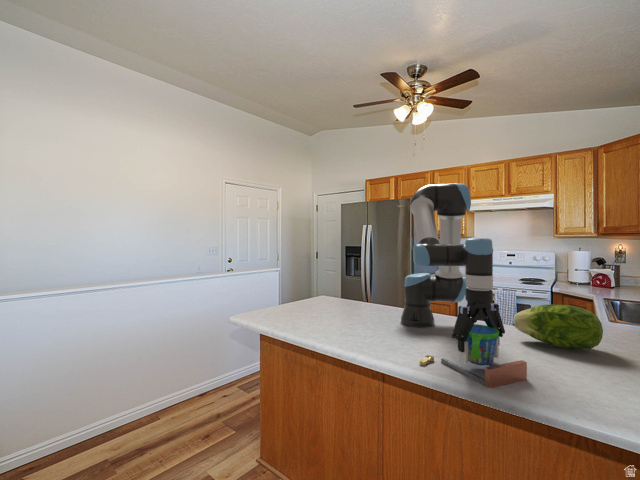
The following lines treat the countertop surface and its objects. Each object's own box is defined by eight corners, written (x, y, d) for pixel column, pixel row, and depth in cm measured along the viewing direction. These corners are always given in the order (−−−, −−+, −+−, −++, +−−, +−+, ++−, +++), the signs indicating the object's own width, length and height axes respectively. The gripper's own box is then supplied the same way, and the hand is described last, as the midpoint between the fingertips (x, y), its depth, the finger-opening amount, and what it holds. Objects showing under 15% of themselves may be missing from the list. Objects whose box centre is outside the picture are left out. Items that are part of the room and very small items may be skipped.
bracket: (474, 356, 107) (474, 341, 107) (526, 379, 89) (526, 362, 89) (441, 362, 102) (441, 347, 102) (489, 387, 85) (489, 369, 85)
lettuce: (515, 334, 131) (515, 297, 131) (600, 347, 115) (600, 304, 115) (511, 344, 119) (510, 303, 119) (605, 360, 103) (605, 313, 103)
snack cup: (493, 375, 87) (492, 338, 87) (453, 365, 94) (453, 331, 94) (503, 358, 99) (503, 326, 99) (467, 350, 106) (467, 320, 106)
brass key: (427, 358, 106) (427, 354, 106) (435, 360, 104) (435, 356, 104) (417, 364, 101) (417, 360, 101) (426, 366, 99) (426, 362, 99)
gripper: (497, 284, 104) (497, 350, 104) (438, 289, 96) (439, 360, 96) (518, 287, 97) (518, 358, 97) (457, 293, 89) (457, 370, 89)
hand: (479, 359), depth 97 cm, fingers closed on snack cup, 11 cm apart
